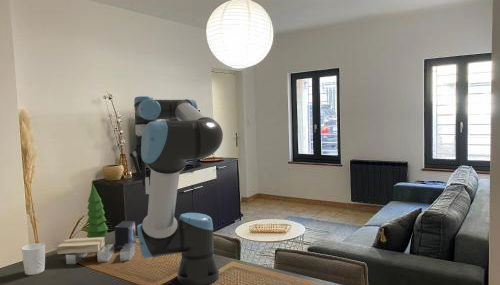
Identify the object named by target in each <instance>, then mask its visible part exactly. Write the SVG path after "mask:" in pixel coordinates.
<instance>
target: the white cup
mask: <svg viewBox="0 0 500 285" xmlns="http://www.w3.org/2000/svg"><path fill="white" fill-rule="evenodd" d="M21 254H22V262H23V268H24V270H23V271H24V274H25V275H27V276H32V275H38V274H41V273H42V272H44V271H45V270H46V269H45V268H46V244H45V243H42V242H39V243H37V242H36V243H29V244H27V245H24V246H22V247H21Z"/></svg>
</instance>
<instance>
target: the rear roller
mask: <svg viewBox="0 0 500 285" xmlns="http://www.w3.org/2000/svg"><path fill="white" fill-rule="evenodd" d="M135 253H136V242H135V243H127V244H125V245H124V246H123V248H122V249H121V250H120V251H119V260H120V262H124V261H125V262H126V261H131V260H132V258H133V257H134V255H135Z"/></svg>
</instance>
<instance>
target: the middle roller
mask: <svg viewBox="0 0 500 285" xmlns="http://www.w3.org/2000/svg"><path fill="white" fill-rule="evenodd" d="M96 253H97V254H96V255H97V263H108V262H109V261H110V259H111V258H112V257H113V256H114V255H115V243H114V244H113V243H112V244H111V243H110V244H109V243H108V244H104V246H103V247H102V248H101V249H100V250H99V251H98V252H96ZM112 255H113V256H112Z"/></svg>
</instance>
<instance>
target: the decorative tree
mask: <svg viewBox="0 0 500 285" xmlns="http://www.w3.org/2000/svg"><path fill="white" fill-rule="evenodd" d="M87 199H88V200H87V202H88V206H87V209H88V211H87V216H88V218H87V221H86V223H87V224H88V225H87V228H86V232H87V234H86V238H96V237H106V236H107V235H108V234H109V233H108V230H109V227H108V226H107V224H106V222H107V219H106V217H105V213H106V212H105V210H104V204H103V202H102V198H101V197H100V195H99V193H98V191H97V189H96V187H95V185H94V184H93V182H92V184H91V189H90V193H89V197H88V198H87Z"/></svg>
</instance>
